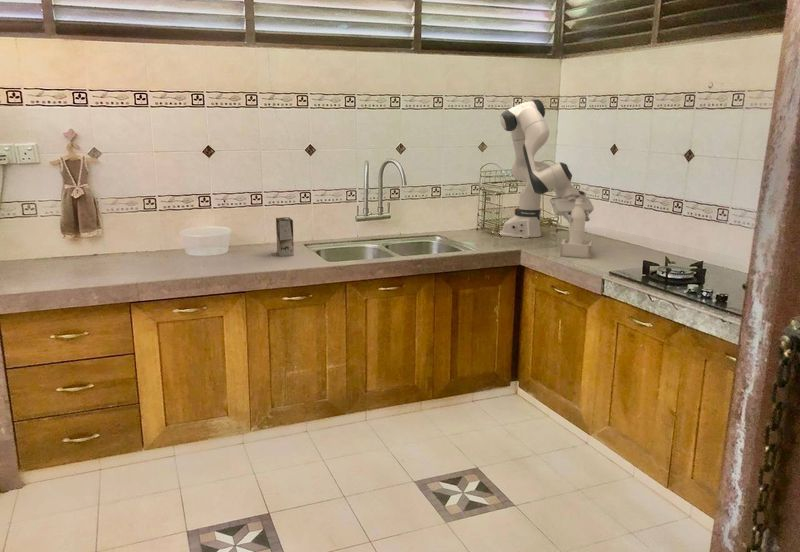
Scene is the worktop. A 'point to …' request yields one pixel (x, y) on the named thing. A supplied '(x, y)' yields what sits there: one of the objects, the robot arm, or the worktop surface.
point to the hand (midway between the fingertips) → (579, 221)
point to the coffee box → (284, 236)
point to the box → (576, 249)
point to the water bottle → (577, 223)
